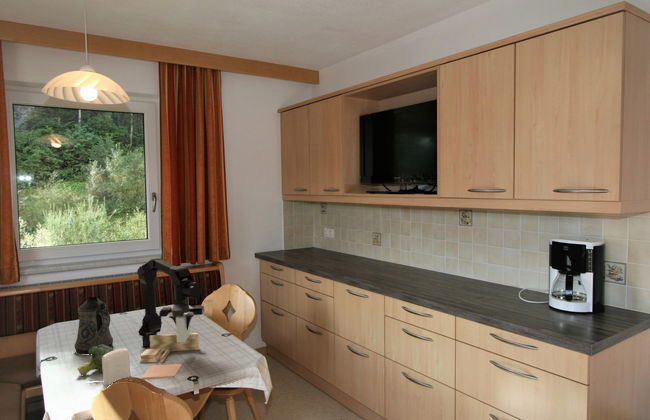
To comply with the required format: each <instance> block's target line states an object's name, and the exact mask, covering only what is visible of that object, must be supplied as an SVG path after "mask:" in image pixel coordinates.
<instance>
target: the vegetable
mask: <svg viewBox="0 0 650 420" xmlns="http://www.w3.org/2000/svg"><path fill="white" fill-rule="evenodd" d="M113 350H115V349H114V348H113V347H109V346H106V345H104V344H101V345H98V346H94V347H92V348H91V349H89V355H88V356H91V357H90V359H89V361H88V362H86V363H84V364H82V365H80V366H78V367H77V368H76V369H77V371H78V372H79V375H80V376H81V377H83V376H82V375H84V376H86V375H87V374H88V373H89V372H90V371H92V370H99V372H100V373H101V374H102V375H103V367H102V357H103V356H104V355H105V354H107V353H109V352H111V351H113ZM91 354H92V355H91Z"/></svg>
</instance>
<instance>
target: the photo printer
mask: <svg viewBox="0 0 650 420" xmlns="http://www.w3.org/2000/svg"><path fill="white" fill-rule="evenodd" d="M129 352H130V351H129V350H128V349H127V348H117V349H114V350H113V351H111V352H109V353H107V354H105V355H104V356H103V357H102V367H103V374H102V379H103V385H104V386H110V385H112V384H111V383H113V382H114V381H115V380H117V379H119V378H123V377H128V378H130V377H131V362H130V360H131V359H130V353H129ZM113 384H114V383H113Z"/></svg>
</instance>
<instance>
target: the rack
mask: <svg viewBox="0 0 650 420" xmlns="http://www.w3.org/2000/svg"><path fill="white" fill-rule="evenodd" d="M199 344H200V343H199V333H197V332H194V333H191V332H190V336H189V337H188V338H187V340H186V341H185V342H177V333H175V334H157V335H152V336H150V347H149V349H160V348H161V351H162V352H164V353H162V354H163V355H162V357H161V358H160V359H159V361H160V363H163V362H164V361H165V360H166V359H167V357H168V355H170V353H171V352H176V351H179V352H180V351H194V350H195V351H196V350H199V349H200V345H199Z"/></svg>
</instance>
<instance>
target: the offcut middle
mask: <svg viewBox="0 0 650 420" xmlns="http://www.w3.org/2000/svg"><path fill="white" fill-rule="evenodd" d="M162 354H163V351H161V352H160V353H159V354H158V356H157V357H156V358H145V359H141V357H139V363H146V362H152V363H158V362H157V360H158V359H159V358H160V356H161V355H162ZM159 360H160V359H159ZM159 360H158V361H159Z"/></svg>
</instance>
